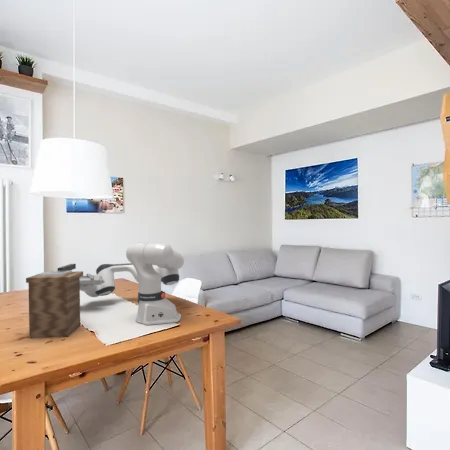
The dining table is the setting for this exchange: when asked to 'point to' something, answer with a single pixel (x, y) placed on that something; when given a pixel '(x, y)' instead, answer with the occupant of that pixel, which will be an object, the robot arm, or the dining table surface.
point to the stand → (54, 305)
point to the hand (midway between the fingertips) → (78, 275)
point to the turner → (59, 271)
